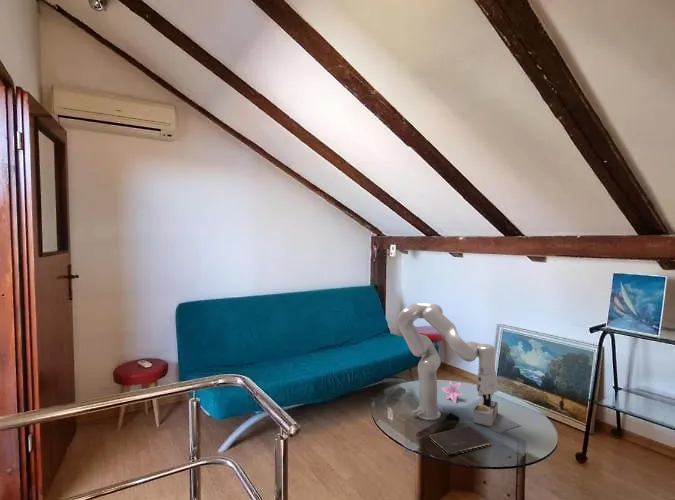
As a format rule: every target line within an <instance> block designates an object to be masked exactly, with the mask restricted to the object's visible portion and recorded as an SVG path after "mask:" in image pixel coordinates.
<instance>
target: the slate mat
mask: <svg viewBox="0 0 675 500" xmlns="http://www.w3.org/2000/svg"><path fill="white" fill-rule="evenodd" d="M484 426H485V427H487V428H489V429H491V430H493V432H496V433H497V434H503V433H505V432H508V431H509V430H510V431H511V430H513V429H515V428H518V427H522V426H521V424H519V423H517V422H516V421H514V420H512V419H510V418H507V417H506V416H504V415H502V414H500V413H499V412H498V414H497V416H496V418H495V420H494V423H493V425H492V426H487V425H484Z"/></svg>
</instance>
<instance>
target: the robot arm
mask: <svg viewBox="0 0 675 500" xmlns="http://www.w3.org/2000/svg"><path fill="white" fill-rule="evenodd" d="M443 311H444V310H443V308H442V307H441V306H440V305H439V304H436V303H415V302H414V303H411V304H409V305H407V306H406V307H404V308H403V309H402V310H401V311H400V312H399V314H398V316H397V318H396V323H397V324H396V325H397V327H398V329H399V331H400V332H401V334H402V336H403V338H404V340H405V343H406V344H407V346H408V349H409V350H410V353H412V355H413V356H415V357H416V358H417V357H421V358H420V359H419V362H418V364H417V374H418V396H419V397H418V398H419V400H418V401H419V402H418V404H419V406H417V408H416V409H414V410H411V414H412V415H417V417H419V418H420V419H422V420H426V421H437V420H438V419H440V418H441V412H440V410H438V377H437V370H438V369H439V367H440V366H441V363H442V362H441V357H440V355H439V352H438V351H437V349H436V348H435V346H434V343H433V342H432V340H431V339H430V338H429V336H427V335H425V334H421V333H420V331H419V330H418V328H417V326H415V324H414V322H415V321H416V320H418V319H424V320H425V321H426V322H427V324H429V325H430V326H431V327H432V328H433V329H434V330H436V331H437V332H438V333H439V334H440V335H441V336H442V337H443V339H444V340H445V342H446V343H447V344H448V346H449V347H450V348H451V350H452V351H453V352H454V353H455V354H456V355H457V356H458V357H460V359H462V360H464V361H465V362H473V361H475V360H476V358H478V369H477V370H478V373H477V379H476V389H477V394H478V396H479V397H481V398H482V399H484V405H485V406H487V407H490V406H491V401H492V398H493V394H495V393H497V392H498V391H499V383H498V375H497V372H496V353H495V352H496V349H495V346H493V345H492V344H488V343H479V342H475V341H467V342H465V341H464V340H463V339H462V338H461V336H460V334H459V333H458V330H457V327H456V324H454V322H452V321H451V320H450V319H448V317H446V316H445V315H444V314H443V313H444V312H443Z"/></svg>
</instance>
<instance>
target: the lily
mask: <svg viewBox="0 0 675 500" xmlns="http://www.w3.org/2000/svg"><path fill="white" fill-rule="evenodd" d="M448 383H449V384H448V386H442V387H441V390H442V391H443V392H444V393H446V395H445V400H448V399H451V401H452V402H453V404H456V403H457V397H459V396H463V395H464V394H463V392H462V391H460V390H459V389H460V386H461V382H456V383H454V384H453V382H452V381H451V380H449V381H448Z"/></svg>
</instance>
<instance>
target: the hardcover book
mask: <svg viewBox="0 0 675 500" xmlns="http://www.w3.org/2000/svg"><path fill="white" fill-rule="evenodd" d="M427 437H430V438H431V439H432V440H433V441H434V442H435V443H437V444H438V445H439V446H440V447H441V448H443V449H444V450H445V451H446V452H447V453H453V452H457V451H462V450H466V449H472V448H477V447H481V446H485V445H488V446H490V445H491V441H490V440H489V439H487V438H486V437H485V436H483V435H482V434H481V433H480V432H478V431H476V430H475V429H473V427H471V426H470V425H466V426H462V427H457V428H454V429H450V430H445V431H442V432H437V433H433V434H429V435H428V436H427ZM432 440H431V441H432ZM433 441H432V442H433ZM434 442H433V443H434ZM435 443H434V444H435ZM485 447H486V446H485ZM481 448H482V447H481ZM477 449H478V448H477Z"/></svg>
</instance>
